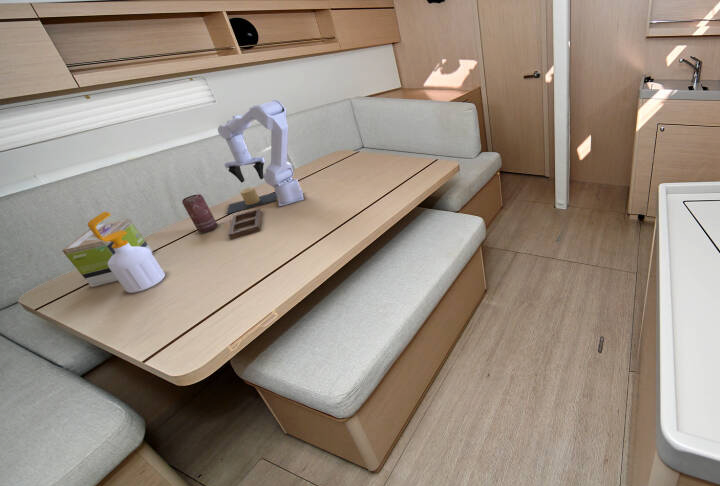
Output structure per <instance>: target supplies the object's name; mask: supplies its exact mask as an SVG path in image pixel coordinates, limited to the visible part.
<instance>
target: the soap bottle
mask: <svg viewBox="0 0 720 486" xmlns="http://www.w3.org/2000/svg"><path fill="white" fill-rule="evenodd" d="M110 216H112V213H110V212H107V211H103V212H101V213H100V214H98V215H96V216H95V217H93V218H92V219H90V220H89V221H88V222H87V227H88V228H89V229H90V230H91V231H92V232H93V234H94V235H95V237H96V238H98V239H100V240H102V241H105V242H108V241H110V242H114V243H115V244H114V245H112V247H113V249H114V250H115V254H114V255H113V256H112V257H111V258H110V260H109V261H108V267H109V268H110V270H111V271H112V272H113V274H114V275H115V277H116V278H117V279H118V281H117V282H119V283H120V285H121V286H122V288H123V289H124V291H125V292H126V293H130V294H133V293H134V294H135V293H138V292H142V291H145V290H147V289H150V288H152V287H155V286H156V285H157V284H159V283H160V282H161V281H163V280H164V278H165V276H166V273H165V271H164V269H163V268H162V266H160V264H159V262H158V260H156V258H155V256H154V255H153V253H151V252H150V250H149V249H148V248H146V247H139V246H135V247H132V246H130V244H129V243H128V241H127V240H124V241H122V239H121V238H123V235H125V234H127V232H125V231H123V230H120V231H117V232H115V233H112V234H110V235H108V236H105V237H102V236H101V235H100V233H99V232H98V230H97V228H96V226H97V225H99V224H100V223H102V222H103V221H104V220H106V219H107V218H109V217H110Z"/></svg>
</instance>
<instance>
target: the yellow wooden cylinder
mask: <svg viewBox="0 0 720 486" xmlns="http://www.w3.org/2000/svg"><path fill="white" fill-rule="evenodd" d="M239 193H240V196H241V197H242V199H243V201H245V203H246V205H252V204H255V203H257V202H259V201H260V200H259V197H260V196H259V195H258V193H257V190H256V188H255V187H247V188H244V189H242V190H241V191H240V192H239Z"/></svg>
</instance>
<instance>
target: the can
mask: <svg viewBox="0 0 720 486" xmlns="http://www.w3.org/2000/svg"><path fill="white" fill-rule="evenodd" d="M181 201H182V202H181V203H182V205H183V207H184V209H185V211H186V213H187V215H188V216H189V218H190V220H191V221H192V223H193V225H194V227H195V228H196V230H197V232H198V233H200V234H206V233H209V232H212V231H214V230H215V229H217V228H218V222H217V221H216V219H215V217H214V215H213V213H212V210H210V208H209V206H208V204H207V202H206V200H205V198H204V197H203V195H202V194H200V193H197V194H193V195H190V196H187V197H185V198H183V199H182V200H181Z"/></svg>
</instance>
